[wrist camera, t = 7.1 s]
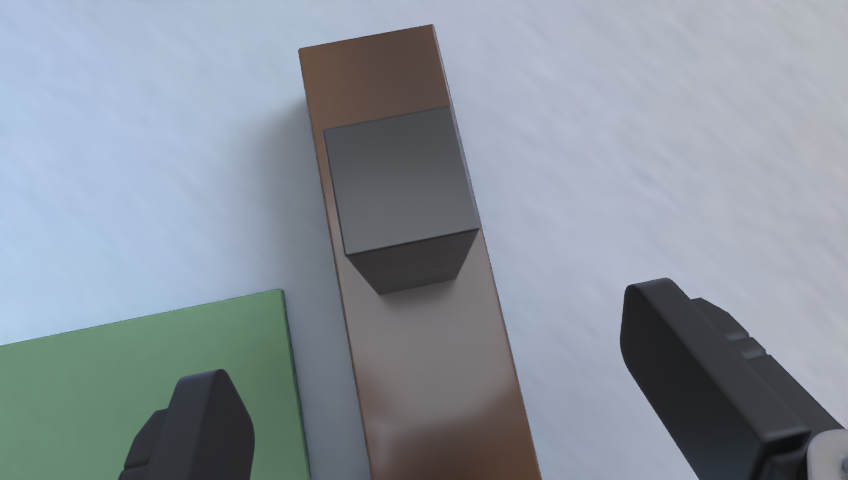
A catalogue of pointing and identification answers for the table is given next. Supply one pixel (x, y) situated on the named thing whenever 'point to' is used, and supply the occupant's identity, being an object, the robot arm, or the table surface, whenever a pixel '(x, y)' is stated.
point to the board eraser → (413, 265)
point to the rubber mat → (147, 388)
